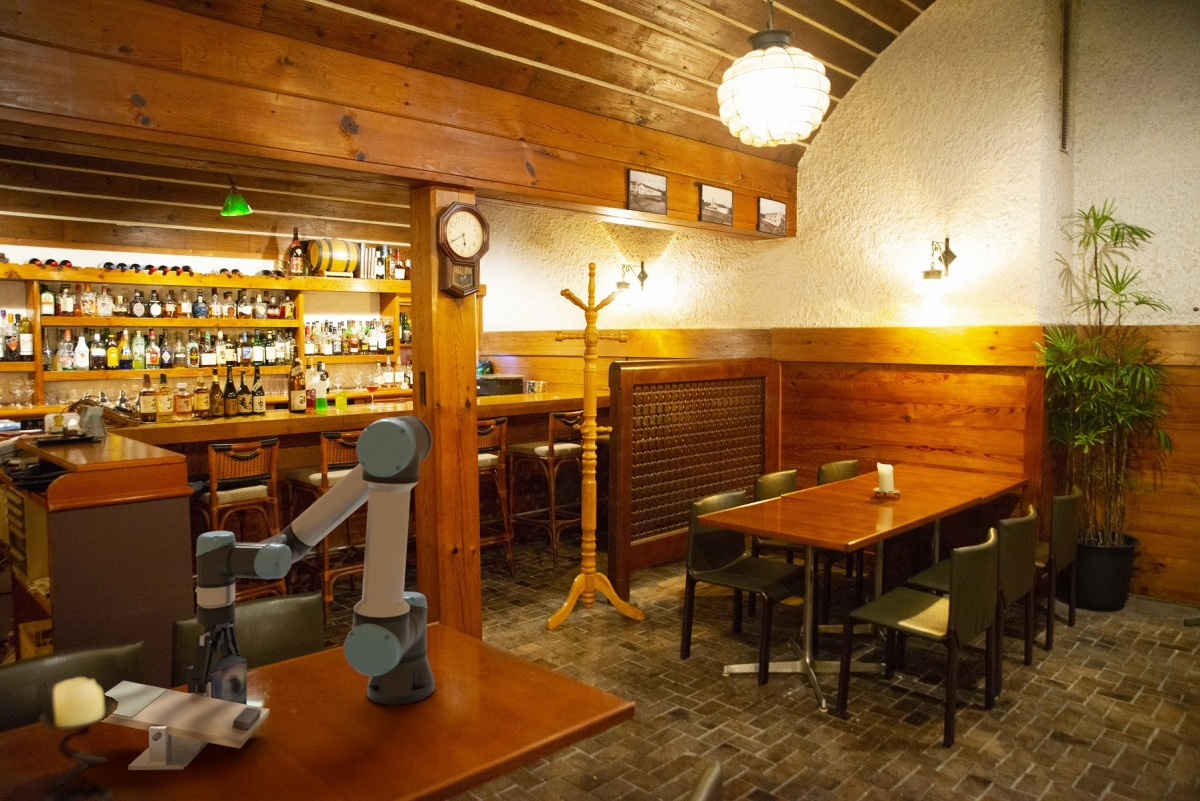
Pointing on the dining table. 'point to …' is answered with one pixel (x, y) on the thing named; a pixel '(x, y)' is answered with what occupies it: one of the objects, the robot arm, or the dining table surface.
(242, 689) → the small box
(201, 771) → the dining table surface
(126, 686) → the balance beam
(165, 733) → the pivot stand
